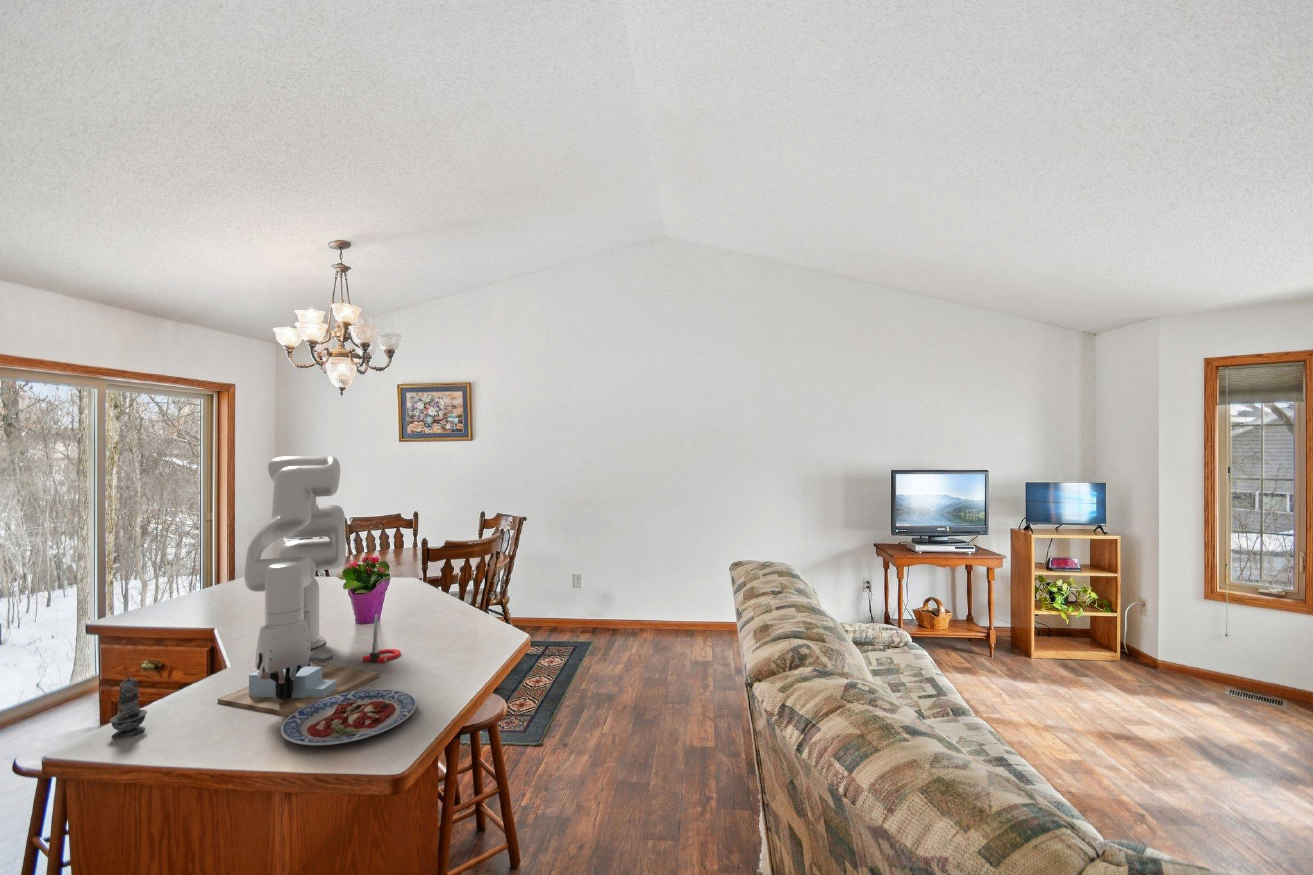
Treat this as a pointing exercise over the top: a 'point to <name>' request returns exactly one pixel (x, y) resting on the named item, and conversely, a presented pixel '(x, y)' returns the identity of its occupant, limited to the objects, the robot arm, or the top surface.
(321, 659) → the bracket
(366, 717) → the ceramic plate
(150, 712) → the top surface
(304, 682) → the link
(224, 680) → the top surface
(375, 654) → the tow hook
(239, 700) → the board
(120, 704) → the grey stone sculpture
